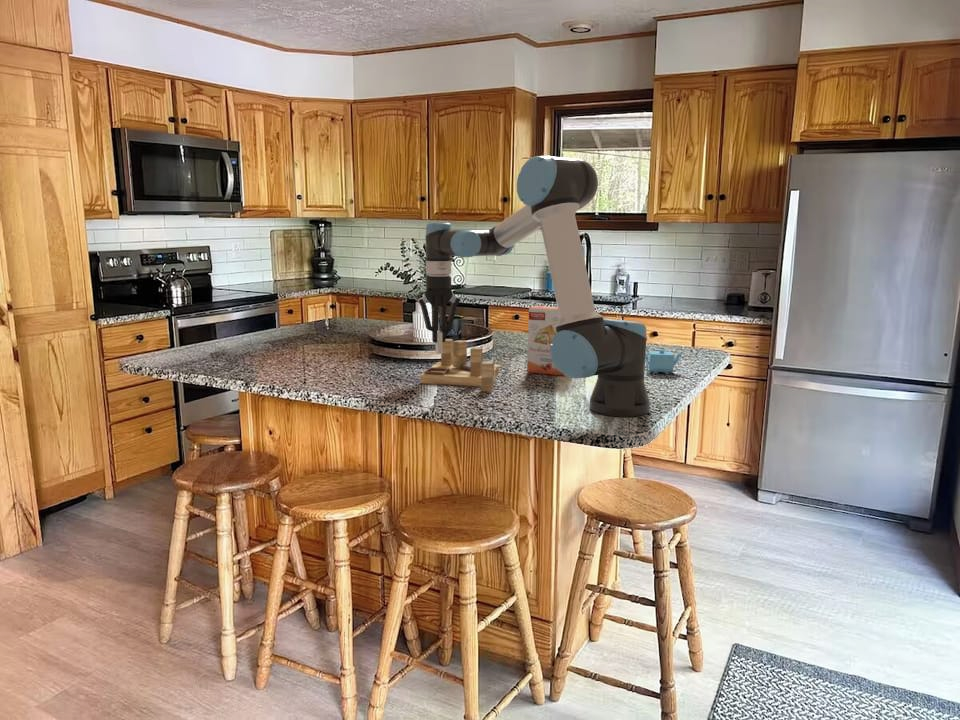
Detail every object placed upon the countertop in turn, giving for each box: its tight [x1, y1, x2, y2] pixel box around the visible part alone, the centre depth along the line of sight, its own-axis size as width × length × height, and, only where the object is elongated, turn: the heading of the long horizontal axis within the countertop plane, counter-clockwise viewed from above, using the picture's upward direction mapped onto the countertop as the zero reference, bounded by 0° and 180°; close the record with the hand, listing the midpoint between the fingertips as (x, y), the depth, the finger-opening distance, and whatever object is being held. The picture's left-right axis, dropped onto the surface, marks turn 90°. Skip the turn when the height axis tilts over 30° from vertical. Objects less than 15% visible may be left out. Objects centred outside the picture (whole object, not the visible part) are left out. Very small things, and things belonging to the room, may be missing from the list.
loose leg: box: [480, 360, 495, 393], centre depth 202 cm, size 3×3×8 cm
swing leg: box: [453, 339, 470, 370], centre depth 217 cm, size 11×3×8 cm, turn 48°
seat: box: [419, 338, 500, 387], centre depth 218 cm, size 20×20×10 cm
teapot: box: [645, 348, 685, 375], centre depth 227 cm, size 12×6×8 cm, turn 80°
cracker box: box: [526, 305, 566, 377], centre depth 224 cm, size 14×6×21 cm, turn 68°
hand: (438, 352), depth 218 cm, fingers closed
